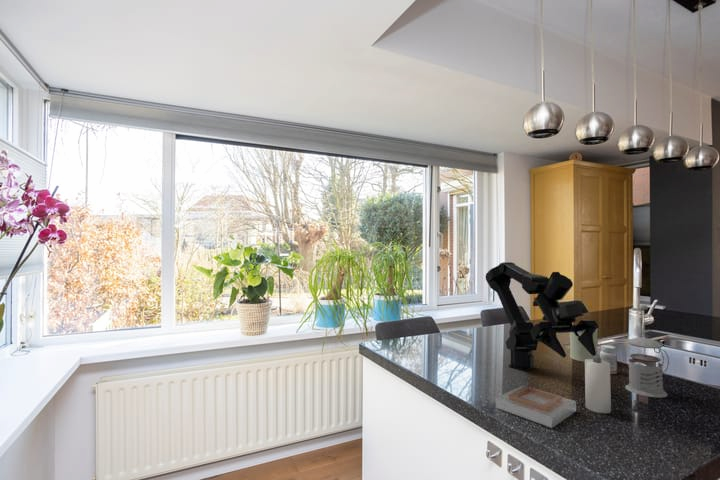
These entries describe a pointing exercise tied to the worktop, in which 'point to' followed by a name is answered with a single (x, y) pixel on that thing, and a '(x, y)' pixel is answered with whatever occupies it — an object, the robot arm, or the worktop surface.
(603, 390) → the white bottle
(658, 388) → the french press
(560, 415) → the press bed
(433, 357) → the worktop surface
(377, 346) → the worktop surface
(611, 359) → the pill bottle
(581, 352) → the can
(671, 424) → the worktop surface
